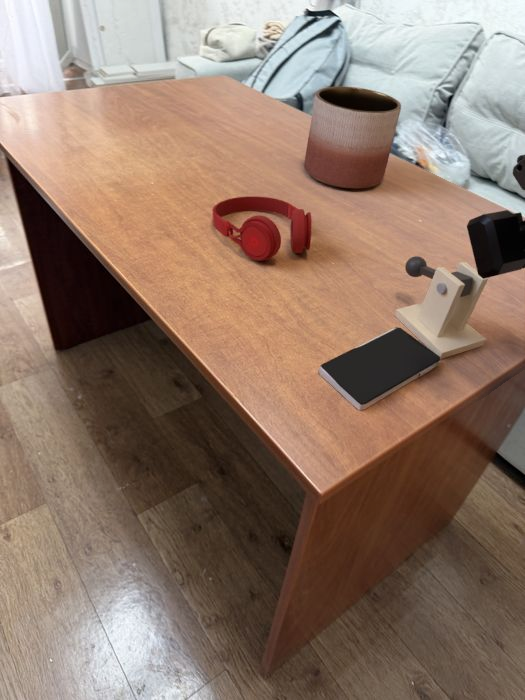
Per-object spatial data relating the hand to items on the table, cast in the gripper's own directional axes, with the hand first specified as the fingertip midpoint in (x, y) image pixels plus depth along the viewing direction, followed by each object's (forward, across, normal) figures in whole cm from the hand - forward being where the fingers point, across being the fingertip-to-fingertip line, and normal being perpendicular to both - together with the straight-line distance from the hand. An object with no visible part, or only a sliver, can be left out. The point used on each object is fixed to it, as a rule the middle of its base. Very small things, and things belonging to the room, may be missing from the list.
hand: (482, 253), depth 60 cm
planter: (+47, -16, -27) cm, 57 cm away
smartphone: (+8, +13, +11) cm, 19 cm away
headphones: (+34, +13, -14) cm, 39 cm away
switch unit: (+11, 0, +8) cm, 14 cm away
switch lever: (+9, 0, +2) cm, 10 cm away
